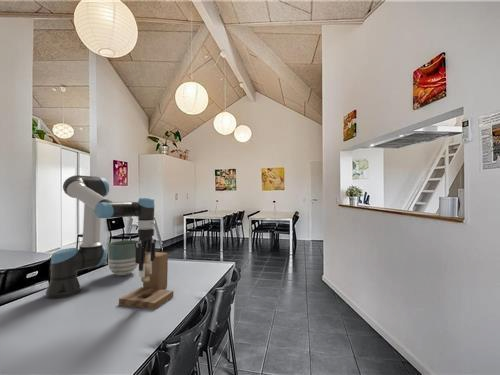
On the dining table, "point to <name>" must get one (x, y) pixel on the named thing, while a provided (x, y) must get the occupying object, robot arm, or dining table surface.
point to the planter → (122, 257)
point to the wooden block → (158, 272)
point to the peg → (147, 267)
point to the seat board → (146, 298)
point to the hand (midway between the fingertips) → (145, 275)
